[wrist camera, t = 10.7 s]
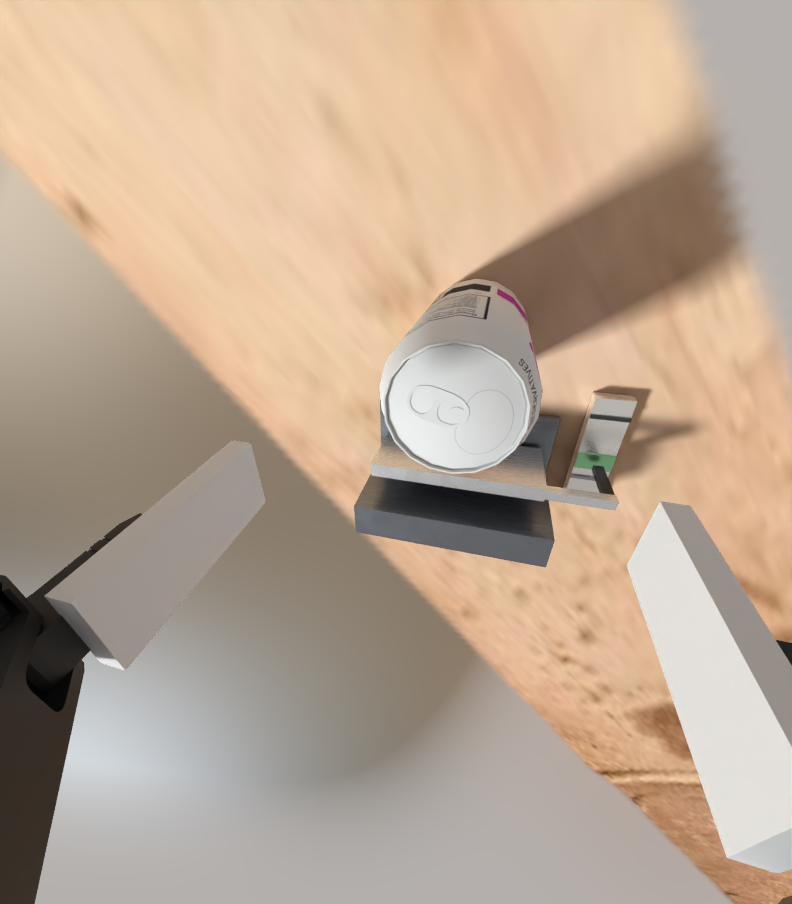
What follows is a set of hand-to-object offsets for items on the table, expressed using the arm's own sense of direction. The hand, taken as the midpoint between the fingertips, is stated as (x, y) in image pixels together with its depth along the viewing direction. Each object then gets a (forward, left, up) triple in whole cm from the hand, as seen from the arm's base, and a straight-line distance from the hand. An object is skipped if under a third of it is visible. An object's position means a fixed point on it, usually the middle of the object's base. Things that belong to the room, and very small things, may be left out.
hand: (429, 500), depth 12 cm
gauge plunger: (+10, +3, -20) cm, 23 cm away
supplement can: (0, 0, -22) cm, 22 cm away
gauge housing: (+10, +3, -21) cm, 24 cm away
